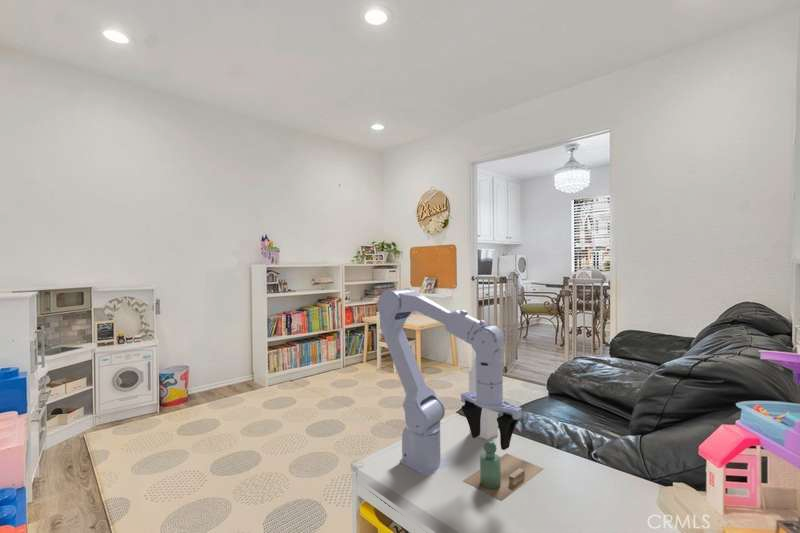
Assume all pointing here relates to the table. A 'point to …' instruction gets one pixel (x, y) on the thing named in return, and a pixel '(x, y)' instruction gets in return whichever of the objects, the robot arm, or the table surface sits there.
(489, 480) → the bottle
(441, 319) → the robot arm
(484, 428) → the milk
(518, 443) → the table surface
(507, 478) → the rest board
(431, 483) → the table surface
